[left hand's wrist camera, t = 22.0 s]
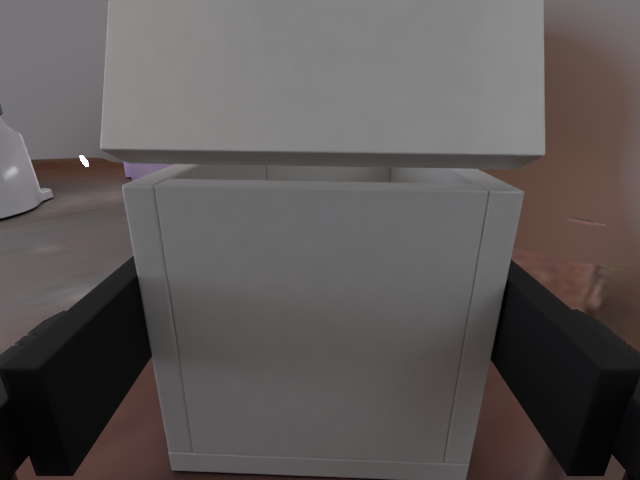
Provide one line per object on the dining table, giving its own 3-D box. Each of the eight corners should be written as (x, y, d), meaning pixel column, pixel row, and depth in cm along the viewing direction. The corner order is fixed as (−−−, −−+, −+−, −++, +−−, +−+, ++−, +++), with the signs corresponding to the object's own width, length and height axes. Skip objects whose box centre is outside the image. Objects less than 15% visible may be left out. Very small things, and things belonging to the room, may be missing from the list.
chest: (261, 267, 29) (254, 131, 26) (393, 270, 29) (404, 133, 25) (170, 471, 13) (119, 184, 10) (466, 483, 13) (525, 191, 9)
